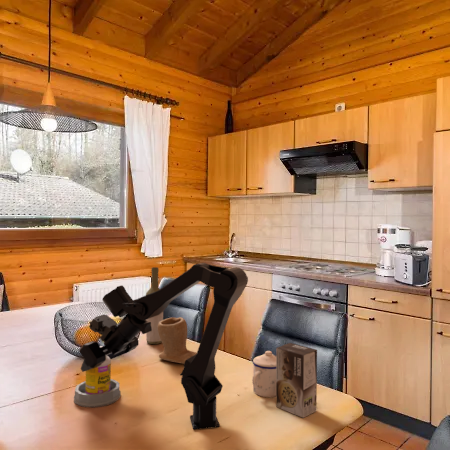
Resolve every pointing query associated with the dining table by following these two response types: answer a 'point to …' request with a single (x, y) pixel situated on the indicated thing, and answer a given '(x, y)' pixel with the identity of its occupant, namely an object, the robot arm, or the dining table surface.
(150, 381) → the dining table surface
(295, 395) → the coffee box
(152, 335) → the bottle
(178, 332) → the tan boot-shaped piece
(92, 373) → the supplement bottle
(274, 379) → the teacup with lid
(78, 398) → the round bowl
